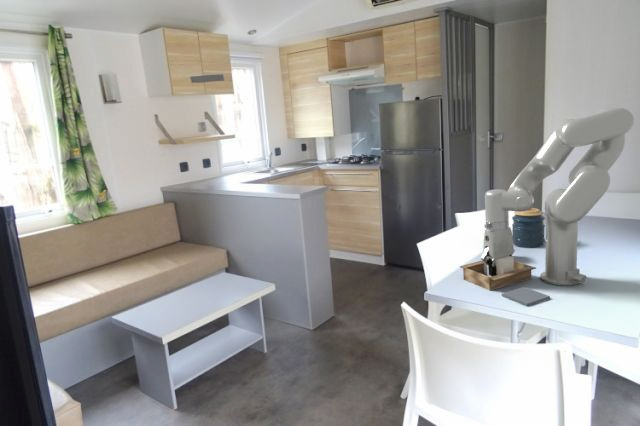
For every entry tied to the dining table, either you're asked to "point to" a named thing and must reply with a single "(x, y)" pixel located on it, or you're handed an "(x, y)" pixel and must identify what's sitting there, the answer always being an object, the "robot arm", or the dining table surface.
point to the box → (501, 265)
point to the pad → (525, 296)
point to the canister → (528, 228)
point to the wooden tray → (476, 275)
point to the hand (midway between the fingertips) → (498, 273)
